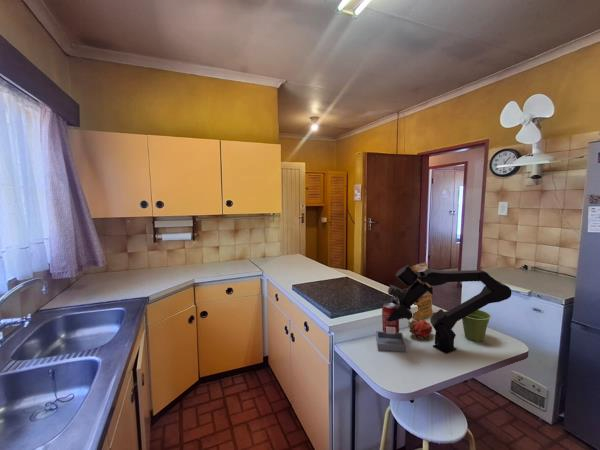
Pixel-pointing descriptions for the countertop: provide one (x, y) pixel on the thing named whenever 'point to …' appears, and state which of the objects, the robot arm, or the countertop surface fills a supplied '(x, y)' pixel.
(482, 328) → the plant pot
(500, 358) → the countertop surface
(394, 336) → the box
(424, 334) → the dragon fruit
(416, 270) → the pancake mix bag
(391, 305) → the soda can
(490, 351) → the countertop surface
